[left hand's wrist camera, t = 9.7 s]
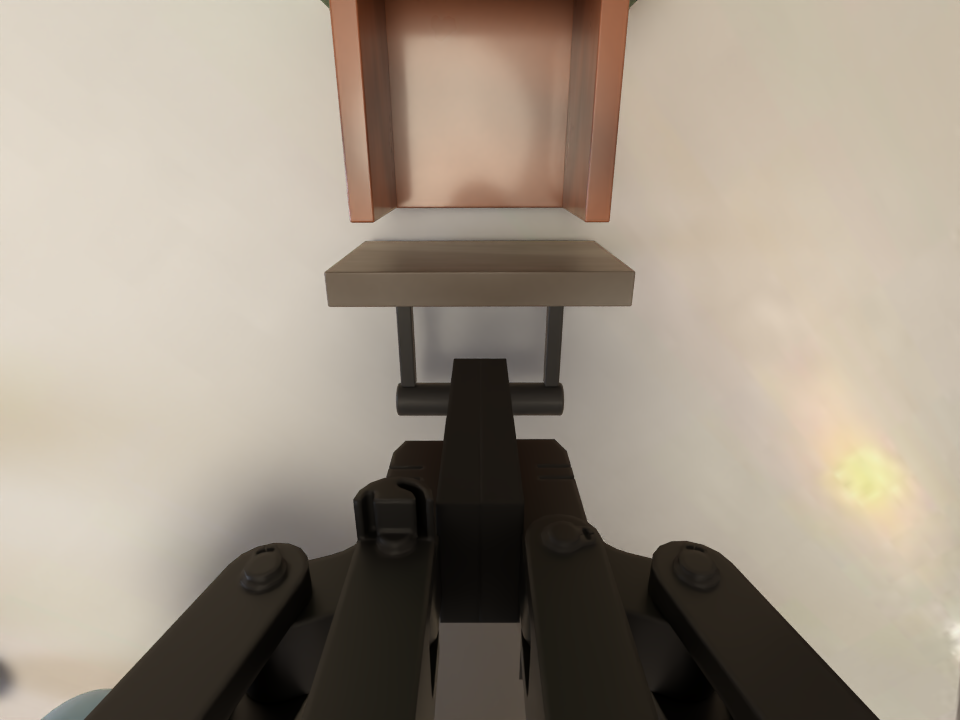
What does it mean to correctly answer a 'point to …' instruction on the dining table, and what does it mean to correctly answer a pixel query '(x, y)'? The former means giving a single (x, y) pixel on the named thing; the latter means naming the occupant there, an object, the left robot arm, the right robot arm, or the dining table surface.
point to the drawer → (479, 160)
